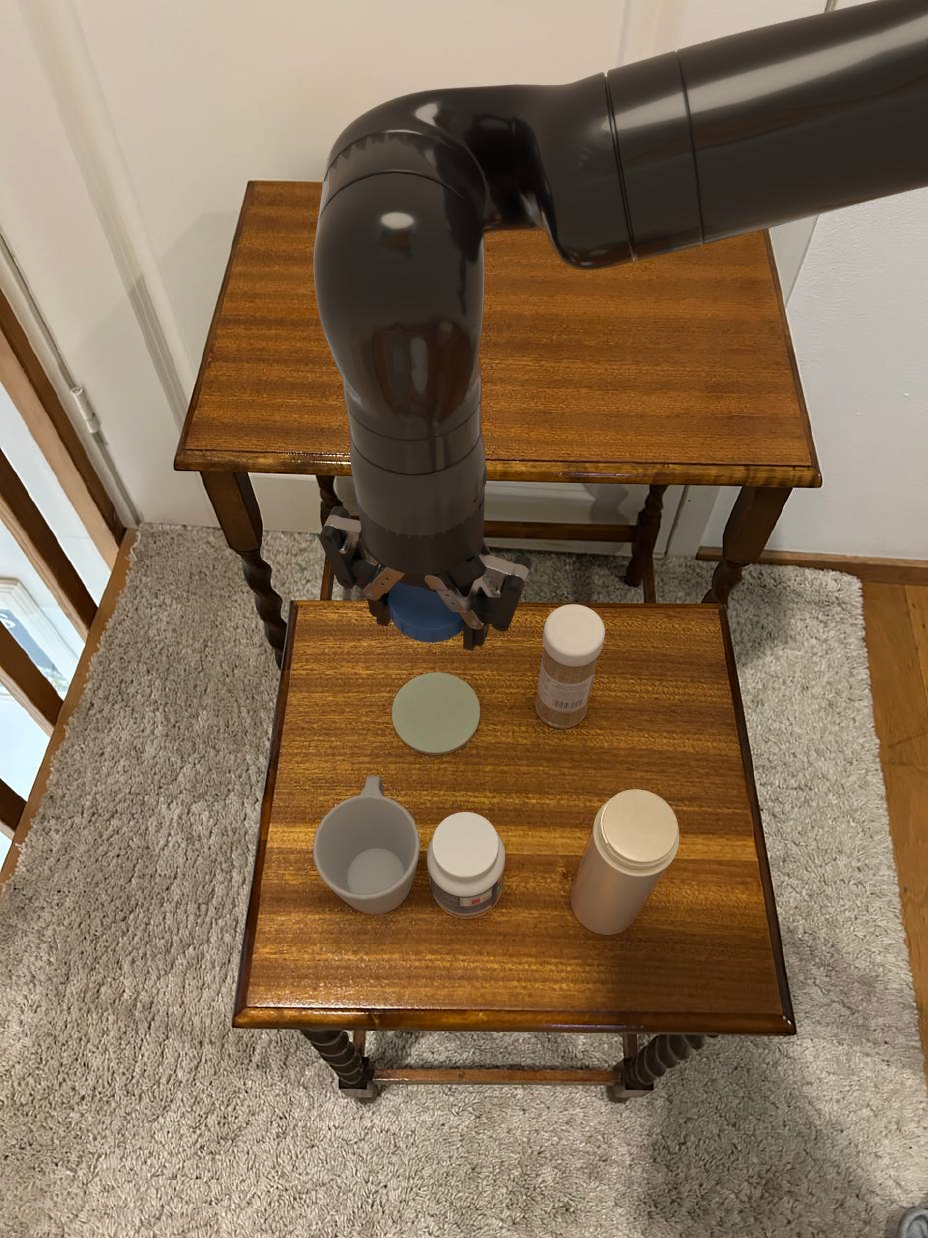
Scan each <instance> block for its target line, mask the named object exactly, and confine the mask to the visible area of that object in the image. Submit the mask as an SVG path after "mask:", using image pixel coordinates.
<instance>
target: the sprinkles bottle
mask: <svg viewBox="0 0 928 1238" xmlns="http://www.w3.org/2000/svg"><path fill="white" fill-rule="evenodd" d="M605 637H606V629H605V624H604V621H603V620H602V617H600V615H599V614H598V613H597V612H596V611H594V610H593V609H591V608H589V607H588V606H586V605H581V604H577V603H576V604H574V603H573V604H572V603H571V604H566V605H562V606H559V607H557V608H555V609H554V610H553V611H552V612H551V613H550V614H549V615H548V616H547V617H546V620H545V622H544V625H543V632H542V644H543V652H542V655H541V662H540V670H539V677H538V683H537V694H536V698H535V703H534V705H535V710H536V714H537V715H538V717H539V719H540V720H541V721H542V722H543V723H544V724H546V725H548V726H549V727H551V728H555V729H563V730H566V729H570V728H573V727H575V726H577V725H578V724H580V723H581V722H582V721H583V719H585V717H586V715H587V712H588V707H589V705H588V702H589V698H590V695H591V692H592V689H593V685H594V681H595V672H596V667H597V663H598V658H599V656H600V654H601V653H602V650H603V647H604V643H605Z"/></svg>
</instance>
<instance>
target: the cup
mask: <svg viewBox="0 0 928 1238" xmlns="http://www.w3.org/2000/svg"><path fill="white" fill-rule="evenodd" d="M383 782H384V781H383V779H382V777H381V775H367V776H366V779H365V783H364V787H363V789H362V791H360V794H358V795H355V796H352V797H350V798H347V799H345V800H342V801H340V802H339V803H338V804H336V805H335V806H333V807H332V808H331V809H330V810H329V811H328V812H327V814H326V815H325V816H323V818H322V819H321V821H320V822H319V825H318V827H317V828H316V830H315V835H314V839H313V843H312V852H313V853H312V857H313V858H312V859H313V862H314V865H315V869H316V871H317V873H318V875H319V876H320V878H321V879H322V881H323V882H324V884H325V885H326V886H327V887H328V888H330V890H331V891H332V892H334V893H335V895H336V896H338V897H339V898H340V899H342V901H344V902H345V903H346V904H347V905H349V906H351V907H352V908H353V909H355V910H356V911H358V912H360V913H363V914H367V915H372V916H373V915H375V916H376V915H383V914H387V913H390V912H391V911H393V910H395V909H396V908H397V907H399V906H400V905H401V904H402V903H403V902H404V901H405V899H407V897H408V896H409V893H410V890H411V888H412V886H413V883H414V881H415V876H416V873H417V867H418V863H419V856H420V850H421V841H420V840H421V839H420V838H421V837H420V831H419V829H418V826H417V824H416V821H415V819H414V817H413V816H412V815H411V813H409V810H408V809H406V808H405V807H404V806H402V804H400V803H399V802H398V801H396V800H393V799H391V798H389V797H387V796H385V788H384V783H383Z"/></svg>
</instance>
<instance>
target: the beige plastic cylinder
mask: <svg viewBox="0 0 928 1238" xmlns="http://www.w3.org/2000/svg"><path fill="white" fill-rule="evenodd" d="M679 847H680V827H679V824H678V819H677V815H675V812H674V810H673V808H672V807H671V806H670V805H669V803H667V801H666V800H665V799H663V798H662V797H660V796H659V795H658V794H656V793H654V792H651V791H649V790H644V789H639V788H635V789H626V790H623V791H621V792H618V793H616V794H615V795H613V797H611V798H610V799H608V800H607V801H605V802H604V804H603V805H602V806H601V807H600V808H599V810H598V811H597V813H596V815H595V818H594V821H593V823H592V827H591V828H590V832H589V834H588V838H587V841H586V844H585V847H584V850H583V852H582V855H581V857H580V858H581V859H580V861H579V863H578V867H577V870H576V872H575V876H574V878H573V881H572V885H571V887H570V891H569V903H570V906H571V910H572V913H573V914H574V917H575V918H576V919H577V920H578V922H579V923H580V924H581V925H582V926H583V927H584V928H586V929H587V930H588V931H590V932H593V933H595V934H598V935H603V936H613V935H617V934H620V933H623V932H625V931H627V929H629V928H630V927H631V926H632V925H633V924H634V923H635V921H636V919H637V918H638V917H639V914H640V913H641V912H642V910H643V908H644V907H645V905H646V904H647V902H648V900H649V899H650V897H651V895H653V892H654V891H655V890H656V888H657V886H658V885H659V883H660V881H661V880H662V878H663V877H664V875H665V874H666V872H667V870H668V869H669V868H670V865H671V864H672V863H673V861H674V860H675V858H676V856H677V853H678V850H679Z"/></svg>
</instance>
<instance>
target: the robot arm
mask: <svg viewBox="0 0 928 1238" xmlns="http://www.w3.org/2000/svg"><path fill="white" fill-rule="evenodd" d="M331 146H332V147H331V148H330V151H329V153H328V154H327V155H328V156H327V158H326V161H325V166H324V172H323V180H322V187H321V197H320V204H319V209H318V217H317V225H316V232H315V238H314V247H313V282H314V290H315V298H316V305H317V311H318V315H319V320H320V323H321V328H322V331H323V334H324V337H325V340H326V343H327V345H328V348H329V350H330V352H331V355H332V358H333V360H334V362H335V366H336V368H337V370H338V373H339V374H340V376H341V378H342V384H343V395H344V402H345V403H344V404H345V408H346V409H345V410H346V417H347V420H348V426H349V427H348V428H349V434H350V441H349V443H350V444H349V458H350V459H349V460H350V469H351V475H352V481H353V488H354V495H355V500H356V504H357V505H356V507H357V512H358V518H359V520H358V519H352V517H351V516H352V515H351V514H350V511H349V510H348V509H347V508H345V507H343V506H340V505H334V506H333V507H332V509H331V512H330V513H329V515H328V517H327V520H326V521H325V524H324V525H323V526H322V527H323V528H322V529H321V531H320V533H319V536H318V540H319V542H320V545H321V547H322V549H323V552H324V554H325V556H326V558H327V560H328V563H329V565H330V569H331V570H332V572H333V575H334V577H335V579H336V582H337V583H338V584H339V586H341V587H343V588H345V589H349V590H350V589H353V588H354V587H358V588H359V589H361V590H362V595H363V596H364V597H365V598H366V600H367V604H368V606H367V607H368V612H369V613H370V615H371V616H372V617H374V618H376V624H377V625H378V626H382V627H387V628H388V627H389V625H390V622H391V616H390V612H389V608H388V601H387V597H388V591H389V590H390V589H391V588H392V587H393V585H394V584H395V583H396V582H397V581H398V580H399V583H402V584H406V585H409V586H417V587H422V588H425V589H427V590H429V591H432V592H435V593H438V594H439V596H440V597H441V599H442V600H443V601H444V603H445V604H446V605H447V607H448V608H449V610H450V611H451V612H458V613H459V614H460V615H461V617H462V618H463V620H464V624H463V631H462V641H463V642H462V649H463V650H466V651H470V652H474V651H475V649H476V647H479V648H481V647H483V645H485V642H486V639H487V636H488V633H489V630H490V625H491V627H492V628H493V629H494V630H496V631H499V632H502V633H503V632H508V631H509V629H510V627H511V623H512V620H513V618H514V616H515V612H516V611H517V608H518V605H519V602H520V600H521V597H522V594H523V591H524V589H525V585H526V583H527V579H528V576H529V574H530V571H531V568H532V565H533V560H532V559H531V558H530V557H529V556H527V555H525V554H516V555H515V556H514V557H513V560H512V562H511V561H509V560H506V559H503V558H500V557H497V556H494V555H492V552H491V549H490V547H489V546H488V544H487V543H486V541H485V539H484V536H485V535H484V533H485V532H484V531H485V500H486V499H485V497H486V496H485V495H486V494H485V493H486V485H487V481H488V466H487V463H486V445H485V439H484V435H483V434H484V433H483V428H482V423H483V422H482V420H483V375H482V373H483V372H482V365H481V357H480V351H481V345H482V335H483V324H484V323H483V322H484V309H485V308H484V307H485V288H486V287H485V286H486V234H492V233H501V232H520V231H521V232H525V231H527V232H528V231H529V232H532V231H536V232H544V233H545V234H546V237H547V239H548V241H549V244H550V246H551V247H552V249H553V251H554V252H555V254H556V255H557V257H558V258H559V260H560V261H561V262H563V263H564V264H565V265H566V266H567V267H569V268H572V269H574V270H579V271H596V270H603V269H610V268H614V267H619V266H623V265H626V264H631V263H634V262H635V261H636V260H637V261H638V262H640V261H645V260H649V259H652V258H653V259H654V258H657V257H660V256H661V257H662V256H665V255H668V254H673V253H678V252H682V251H684V250H689V249H694V248H697V247H701V246H702V245H703V246H705V245H709V244H713V243H717V242H721V241H725V240H729V239H732V238H733V239H734V238H736V237H740V236H744V235H749V234H752V233H755V232H759V231H763V230H768V229H771V228H775V227H779V226H782V225H785V224H790V223H793V222H797V221H801V220H805V219H808V218H812V217H816V216H820V215H824V214H827V213H830V212H835V211H838V210H842V209H846V208H850V207H853V206H858V205H860V204H865V203H868V202H872V201H876V200H881V199H883V198H887V197H888V198H889V197H891V196H896V195H900V194H904V193H907V192H911V191H915V190H920V189H924V188H928V0H872V1H869V2H864V3H860V4H855V5H852V6H847V7H842V8H838V9H834V10H829V11H825V12H821V13H816V14H812V15H808V16H804V17H799V18H795V19H791V20H786V21H783V22H777V23H773V24H769V25H765V26H761V27H757V28H753V29H749V30H745V31H741V32H737V33H733V34H729V35H725V36H722V37H718V38H714V39H711V40H706V41H703V42H699V43H696V44H693V45H689V46H685V47H682V48H678V49H677V50H671V51H668V52H665V53H662V54H659V55H654V56H652V57H648V58H645V59H642V60H638V61H635V62H632V63H629V64H628V63H627V64H624V65H622V66H618V67H614V68H611V69H608V70H607V72H606V73H605V72H604V71H602V72H597V73H595V74H592V75H589V76H586V77H584V78H582V79H578V80H576V81H573V82H570V83H565V84H564V83H563V84H521V83H520V84H519V83H516V84H515V83H513V84H499V85H497V84H496V85H485V86H484V85H483V86H482V85H481V86H479V85H478V86H465V87H464V86H462V87H449V88H448V87H447V88H437V89H436V88H435V89H429V90H428V89H427V90H421V91H417V92H410V93H407V94H405V95H400V96H397V97H394V98H393V99H390V100H387V101H385V102H383V103H381V104H378V105H376V106H375V107H373V108H371V109H369V110H367V111H365V112H364V113H363V114H361V115H360V116H358V117H356V118H355V119H354V120H353V121H351V122H350V123H348V125H347V126H346V127H345V128H344V129H343V130H342V131H341V133H339V135H338V137H337V138H336V139H335V141H334V143H333V144H332V145H331ZM364 550H365V551H366V552H367V554H368V555H370V556H371V557H372V558H373V559H374V560H375V561H376V562H375V564H373V563H370V562H368V561H367V556H366V553H365V551H364ZM484 575H486V576H487V577H489V578H490V579H491V584H492V586H493V587H494V588H495V589H494V592H493V593H492V592H491V591H490V589H489V587H488V586H487V585H486V583H485V582H484ZM493 594H494V595H495V596H493Z"/></svg>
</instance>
